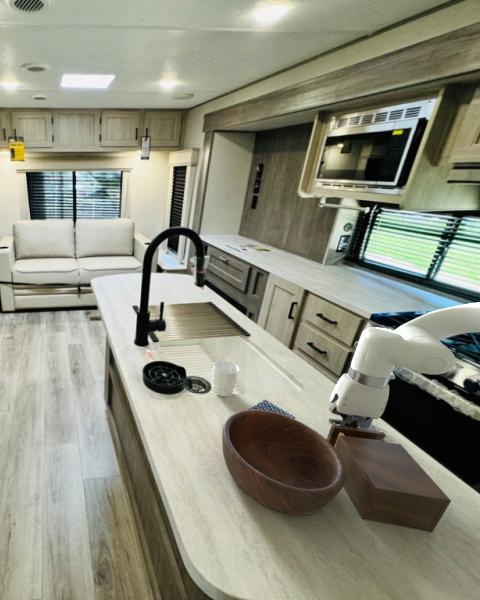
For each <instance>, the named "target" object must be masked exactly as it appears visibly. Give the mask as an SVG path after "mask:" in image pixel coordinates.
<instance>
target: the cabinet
mask: <svg viewBox="0 0 480 600" xmlns="http://www.w3.org/2000/svg"><path fill="white" fill-rule="evenodd" d="M335 449H336V450H337V452H338V453H339V454H340V456H341V458H342V460H343V462H344V464H345V468H346V480H345V483H344V485H343V487H342V489H344V491H345V493H346V495H347V496H348V498H349V500H350V501H351V503H352V505H353V506H354V509H355V510H356V511H357V513H358V515H359V517H360V518H361V519H362V520H365V521H372V522H375V523H381V524H386V525H391V526H397V527H402V528H407V529H411V530H417V531H422V532H427V533H433V532H434V531H435V529H436V527H437V526H438V523H439V522H440V520H441V519H442V517H443V515H444V514H445V512H446V511H447V510H448V508H449V506H450V504H451V502H452V500H451V499H450V497H449V496H448V495H447V494H446V493H445V492H444V491H443V490H442V489H441V488H440V486H439V485H438V484H437V483H436V482H435V481H434V480H433V478H432V477H431V476H430V475H429V474H428V473H427V472H426V471H425V470H424V469H423V468H422V466H421V465H420V464H419V463H418V462H417V461H416V460H415V458H414V457H413V456H412V455H411V454H410V453H409V452H408V451H407V450H406V448H405V447H404V446H403V445H402V444H401V443H397V442H391V441H388V442H385V441H378V440H371V439H364V438H357V437H350V436H343V435H339V438H338V440H337V443H336V446H335Z"/></svg>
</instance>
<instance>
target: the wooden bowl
mask: <svg viewBox="0 0 480 600" xmlns="http://www.w3.org/2000/svg"><path fill="white" fill-rule="evenodd" d="M221 434H222V435H221V442H222V447H221V448H222V454H223V459H224V462H225V465H226V467H227V470H228V472H229V473H230V475H231V477H232V478H233V480H234V482H235V483H236V484H237V485H238V487H239V488H241V489H242V491H243V492H245V494H247V495H248V497H250V498H251V499H253V500H255V501H256V502H257V503H259V504H261V505H263V506H265V507H267V508H269V509H271V510H274V511H276V512H279V513H283V514H288V515H296V516H297V515H300V516H301V515H309V514H313V513H316V512H319V511H321V510H322V509H324V508H326V507H327V506H328V505H329V504H331V502H333V500H334V499H335V498H336V497H337V496H338V495H339V493H340V492H341V490H342V489H343V485H344V483H345V480H346V468H345V464H344V462H343V460H342V458H341V456H340V454H339V453H338V452H337V450H336V449H335V448H334V447H333V446H332V445H331V443H330V442H328V441H327V440H326V439H327V438H325V437H324V436H323V435H322V434H321V433H320V432H318V431H317V430H315V429H314V428H312V427H311V426H309V425H307V424H305V423H303V422H302V421H299V420H298V419H296V418H295V419H293V418H291V417H288V416H285V415H282V414H279V413H275V412H271V411H265V410H248V409H245V410H244V409H243V410H240V411H237V412H235V413H233V414H231V415H230V416H228V417H227V419H226V420H225V422H224V424H223V427H222V433H221Z"/></svg>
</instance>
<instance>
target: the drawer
mask: <svg viewBox="0 0 480 600" xmlns="http://www.w3.org/2000/svg"><path fill="white" fill-rule="evenodd" d="M341 421H342V419H337V418H331V417H329V418H328V423H329V424H331V425H330V429H329V431H328V434H327V437H326V438H325V439H326V440H327V441H328V442H330V443H331V445H332V446H333V447H334V448H335V446H336V443H337V440H338V438H339V435H343V436H350V437H357V438H364V439H371V440H378V441H385V442H389V441H388V440H387V438H386V433H385V432H384V431H382V430H376V429H368V428H363V427H362V428H361V426H359V425H358V427H357V428H354V427H347V426H340V424H341Z"/></svg>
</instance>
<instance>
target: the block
mask: <svg viewBox="0 0 480 600" xmlns="http://www.w3.org/2000/svg"><path fill="white" fill-rule="evenodd" d="M373 420H374V419H369V420H366V421H364V422H363V423H362V424H361V425H359V427H360V428H361V427H362V428H367V429H368V428H371V425H372V423H373Z"/></svg>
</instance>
